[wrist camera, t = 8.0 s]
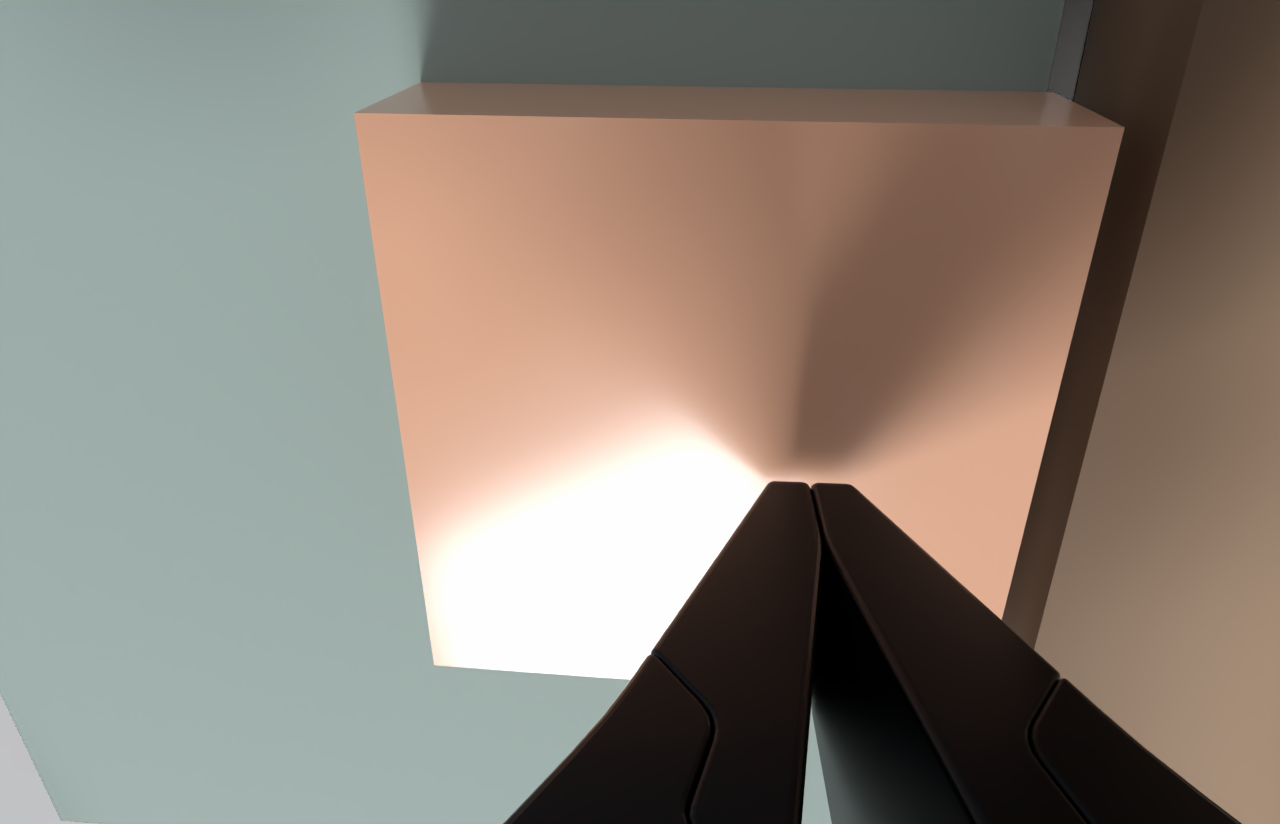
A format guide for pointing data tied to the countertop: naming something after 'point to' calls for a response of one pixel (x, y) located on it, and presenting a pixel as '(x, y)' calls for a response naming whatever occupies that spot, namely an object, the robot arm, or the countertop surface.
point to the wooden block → (1173, 407)
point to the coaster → (712, 333)
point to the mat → (296, 384)
